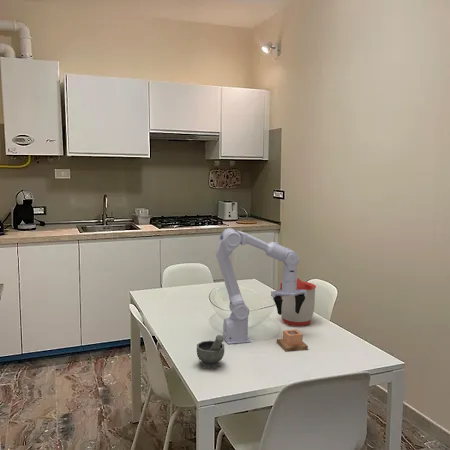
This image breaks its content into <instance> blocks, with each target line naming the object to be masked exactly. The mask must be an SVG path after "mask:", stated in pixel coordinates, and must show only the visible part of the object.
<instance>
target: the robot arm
mask: <svg viewBox="0 0 450 450" xmlns="http://www.w3.org/2000/svg"><path fill="white" fill-rule="evenodd" d="M240 245H241V246H245V245H249V246H252V247H254V248H257V249H259V250H262V251H264V252H265V255H266V256H267V257H270V258H273V259H275V260H277V261H279V262H282V275H281V276H282V278H281V283H282V290H280V289H279V290H273V291H270V296H271V298H272V299H273V302H274V304H275V307H276V311H277V314H278V315H279V316H281V309H282V301H283V300H282V299H281V296H295V303H296V305H295V312H296V313H297V314H299V311H300V308H301V305H302V303H303V302H304V300H305V296H304V295H307V291H306V290H298V289H297V278H298V265H299V264H300V261H301V259H300V255H299V254H298V253H297V252H296V251H294V250H292V249H291V248H290V247H289V246H288V247H287V246H283V245H280V243H279V242H278V241H275V242H273V241H270V242H265V241H264V240H262V239H259V238H258V237H255V236H253V235H251V234H249V233H247V232H243V231H241V230H237V229H236V230H235V229H234V228H232V227H228V228H225V229H223V230H222V232H221V233H220V235H219V237H218V242H217V247H216V250H215V257H216V260H217V263H218V266H219V269H220V272H221V275H222V278H223V281H224V285H225V288H226V291H227V295H228V299H229V305H228V306H229V307H228V308H229V310H230V311H231V313H230V315H229V317H227V318H224V319H223V332H222V334H223V335H222V336H223V338H224V341H225V342H226V344H227V345H230V344H231V345H232V344H244V343H251V342H252V340H251V339H250V337H249V334H248V333H249V315H250V309H249V307H248V306H247V304H246V303H245V301H244V299H243V296H242V294H241V290H240V287H239V283H238V280H237V277H236V275H235V272H234V268H233V264H232V261H231V258H230V256H231V254H232V253H233V251H234V250H236V249H237V248H238V247H239V246H240Z"/></svg>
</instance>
